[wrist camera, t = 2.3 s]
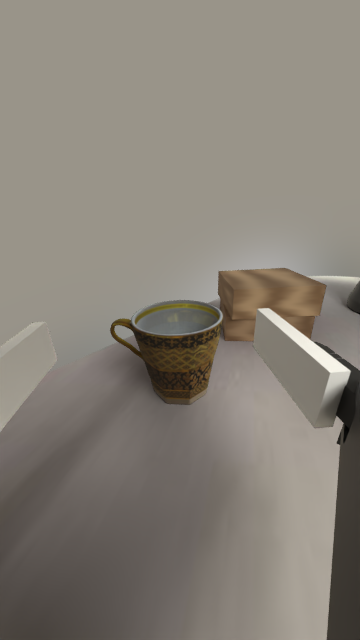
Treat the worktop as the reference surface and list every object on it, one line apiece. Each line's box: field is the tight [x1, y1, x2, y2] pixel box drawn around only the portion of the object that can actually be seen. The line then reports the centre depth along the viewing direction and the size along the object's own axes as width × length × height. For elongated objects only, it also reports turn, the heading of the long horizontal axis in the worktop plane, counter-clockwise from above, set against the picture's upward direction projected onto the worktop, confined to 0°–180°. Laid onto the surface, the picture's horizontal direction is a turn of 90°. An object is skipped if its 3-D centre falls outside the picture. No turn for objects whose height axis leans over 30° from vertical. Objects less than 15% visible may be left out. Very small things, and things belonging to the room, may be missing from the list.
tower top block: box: [218, 268, 326, 320], centre depth 40 cm, size 14×14×5 cm
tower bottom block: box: [220, 299, 315, 341], centre depth 43 cm, size 14×14×5 cm
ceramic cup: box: [110, 300, 223, 405], centre depth 26 cm, size 13×10×10 cm
